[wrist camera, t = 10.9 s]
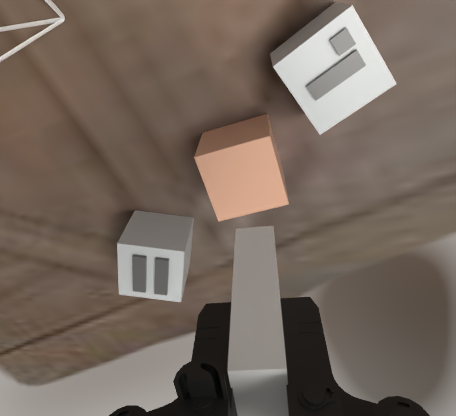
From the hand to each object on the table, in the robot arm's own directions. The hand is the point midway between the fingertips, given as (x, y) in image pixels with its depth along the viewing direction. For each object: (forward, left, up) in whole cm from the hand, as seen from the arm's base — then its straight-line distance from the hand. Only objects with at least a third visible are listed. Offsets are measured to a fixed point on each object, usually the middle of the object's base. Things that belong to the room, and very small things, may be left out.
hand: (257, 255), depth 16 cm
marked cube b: (+5, +5, -15) cm, 17 cm away
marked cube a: (-9, -8, -15) cm, 20 cm away
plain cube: (-1, -1, -15) cm, 15 cm away
